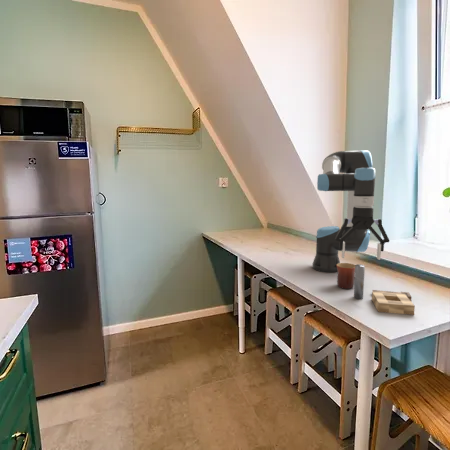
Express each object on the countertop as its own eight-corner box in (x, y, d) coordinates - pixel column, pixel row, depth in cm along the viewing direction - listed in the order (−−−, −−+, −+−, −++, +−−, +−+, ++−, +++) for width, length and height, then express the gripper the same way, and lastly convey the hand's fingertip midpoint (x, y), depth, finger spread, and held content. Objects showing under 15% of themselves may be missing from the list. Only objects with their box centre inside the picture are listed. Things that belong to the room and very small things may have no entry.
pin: (353, 295, 132) (354, 264, 130) (362, 296, 131) (363, 264, 129) (354, 299, 129) (356, 266, 126) (363, 299, 128) (365, 267, 126)
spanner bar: (373, 297, 130) (373, 293, 130) (372, 293, 135) (372, 288, 135) (411, 301, 126) (411, 296, 126) (408, 296, 130) (408, 292, 130)
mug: (339, 290, 138) (340, 268, 137) (332, 283, 147) (333, 263, 145) (366, 289, 139) (367, 267, 137) (357, 283, 147) (358, 262, 146)
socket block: (371, 299, 128) (372, 291, 127) (403, 302, 125) (404, 293, 124) (378, 311, 116) (379, 303, 116) (414, 314, 113) (414, 305, 113)
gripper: (331, 207, 123) (329, 258, 126) (400, 207, 117) (396, 262, 120) (329, 205, 131) (328, 254, 134) (394, 206, 125) (391, 257, 128)
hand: (360, 258), depth 127 cm, fingers open, 13 cm apart
